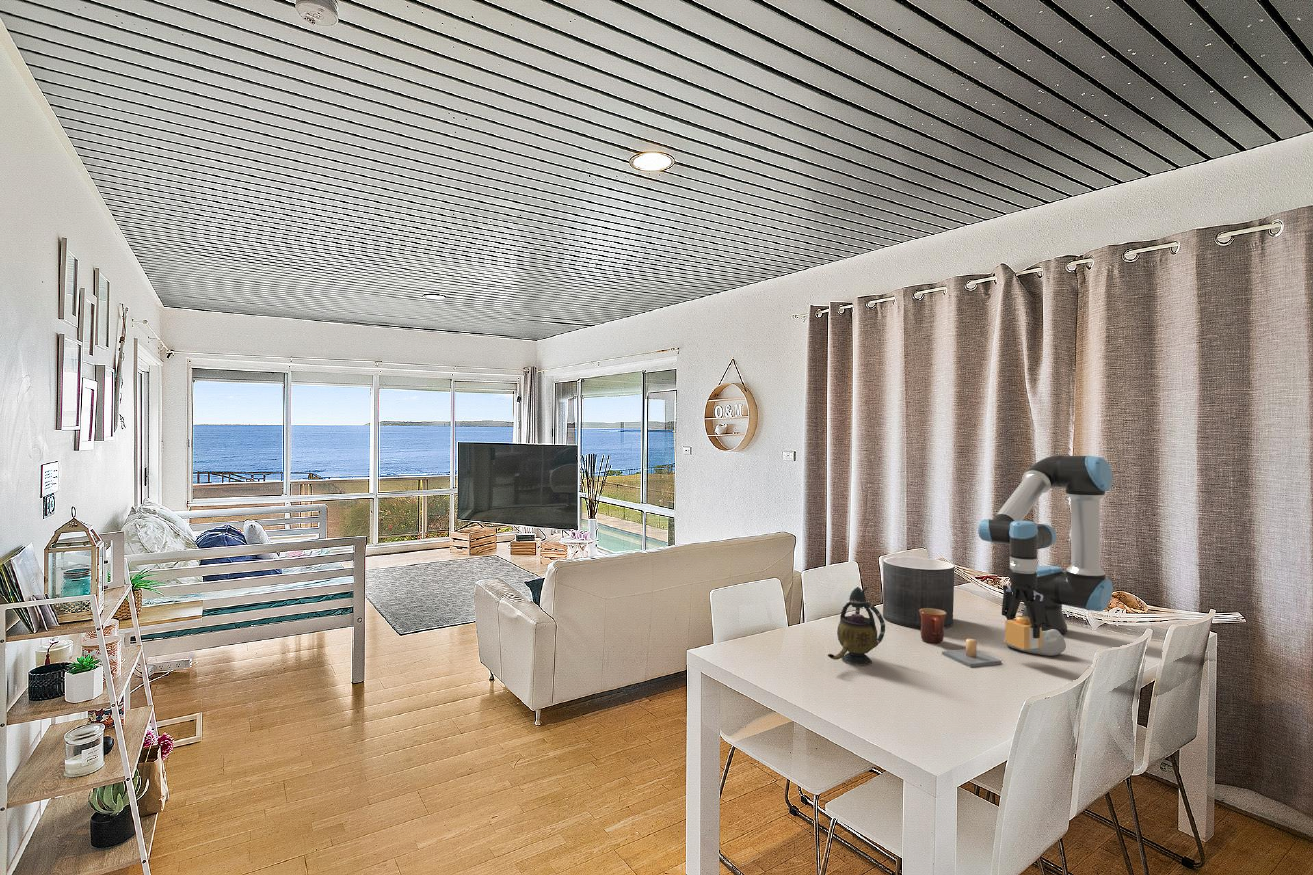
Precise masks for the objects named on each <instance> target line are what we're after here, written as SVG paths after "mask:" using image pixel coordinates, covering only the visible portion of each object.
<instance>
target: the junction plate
mask: <svg viewBox="0 0 1313 875" xmlns="http://www.w3.org/2000/svg"><path fill="white" fill-rule="evenodd" d="M977 643H978V642H977V639H973V638H966V639H965V648H962V649H953V650H944V651H942V650H941V655H942V656H944V657H946V658H949V659H951V660H952V661H953V660H954V661H955V662H958V663H960V664H962V665H964V666H965V667H966V666H967V667H969V668H976V667H984V666H985V667H986V666H992V665H993V666H994V665H1002V662H1003V661H1002V660H1001V659H1000V658H999V659H998V658H996V657H995V656H994V657H993V656H992V655H989V654H987V653H984V652H981V651H979V650H977V649H978V648H977V645H978V644H977Z"/></svg>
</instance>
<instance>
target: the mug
mask: <svg viewBox="0 0 1313 875" xmlns="http://www.w3.org/2000/svg"><path fill="white" fill-rule="evenodd" d="M919 613H920V616H921V628H920V638H921V640H922V641H923V642H925V643H927V644H933V645H934V644H935V645H939V644H942V643H943V642H944V638H945V628H944V620H945V617H946V612H945V611H942V610H938V609H932V608H922V609H919Z"/></svg>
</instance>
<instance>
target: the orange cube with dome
mask: <svg viewBox="0 0 1313 875" xmlns="http://www.w3.org/2000/svg"><path fill="white" fill-rule="evenodd" d="M1035 624H1036V623H1035ZM1030 626H1032V625H1031V622H1030V618H1029V617H1027V616H1022V615H1016V618H1014V620H1007V619H1006V620H1005V627H1004V628H1005V630H1004V632H1005V637H1004V638H1005V642H1004V644H1005V643H1008V644H1010V645H1013V646H1016V647H1018V648H1021V649H1023V650H1026V649H1031V648H1029V627H1030ZM1040 647H1042V627H1041V628H1040V637H1039V638H1038V648H1040Z"/></svg>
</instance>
